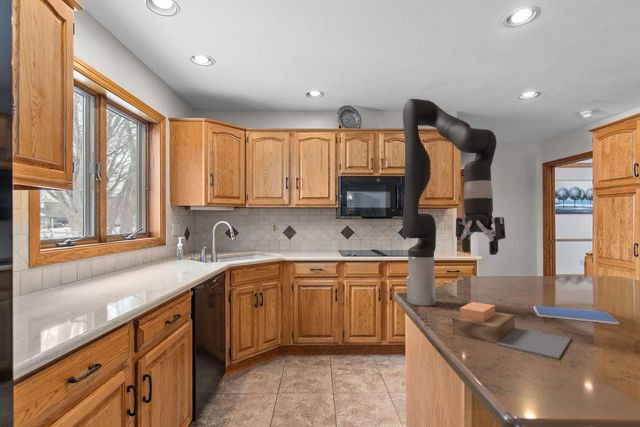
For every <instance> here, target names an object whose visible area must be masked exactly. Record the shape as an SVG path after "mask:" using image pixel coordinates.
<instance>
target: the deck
mask: <svg viewBox="0 0 640 427" xmlns="http://www.w3.org/2000/svg"><path fill="white" fill-rule="evenodd" d="M515 321H516V320H515V314H510V313H503V312H498V311H495V315H494V316H492V317H490V318H489V319H487V320H486V321H484V322H482V321H477V320H472V319H467V318H461V317H460V314H459V315H457V316H454V317H453V318H452V334H453V335H457V336H460V337H466V338H470V339H474V340H479V341H484V342H487V343H492V344H496V345H497V343H498V342H499V341H501V340H502V339H503V338H504V337H505V336H506V335H508V334H509V333H510V332H511V331H512V330H514V329H515V328H516V322H515Z"/></svg>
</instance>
